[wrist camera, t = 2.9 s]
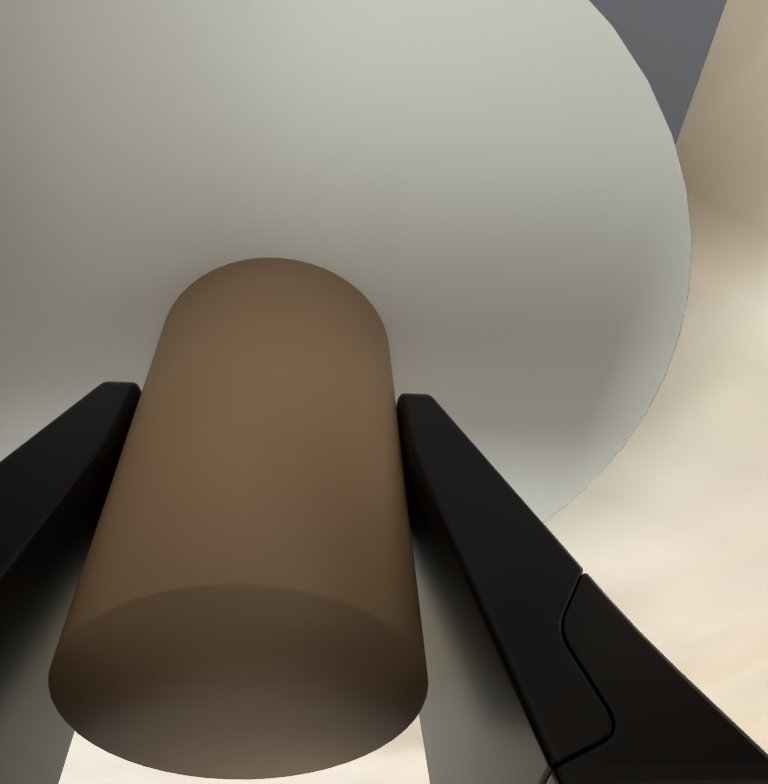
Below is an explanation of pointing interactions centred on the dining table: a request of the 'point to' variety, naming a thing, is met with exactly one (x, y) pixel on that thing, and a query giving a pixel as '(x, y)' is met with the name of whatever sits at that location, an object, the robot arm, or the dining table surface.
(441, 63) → the lid
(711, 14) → the mat
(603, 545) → the dining table surface
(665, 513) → the dining table surface
